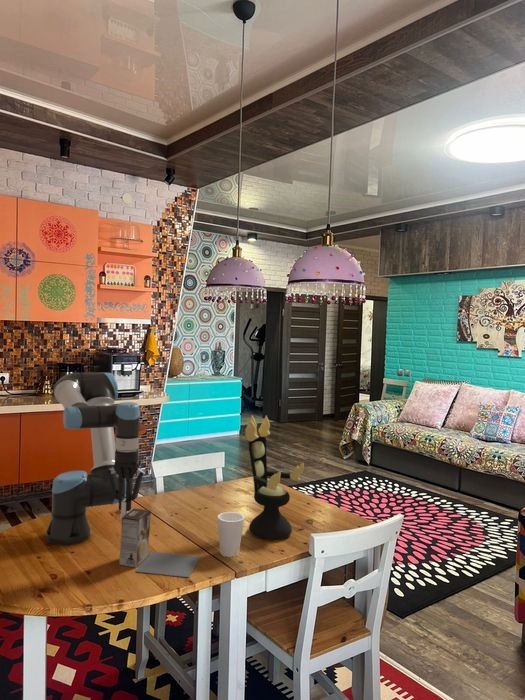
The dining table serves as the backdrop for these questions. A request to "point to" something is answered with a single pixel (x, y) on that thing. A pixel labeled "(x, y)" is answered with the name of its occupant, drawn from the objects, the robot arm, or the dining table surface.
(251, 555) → the dining table surface
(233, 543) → the foam cup
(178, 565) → the mat
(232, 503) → the dining table surface
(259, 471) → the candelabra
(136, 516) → the coffee box
